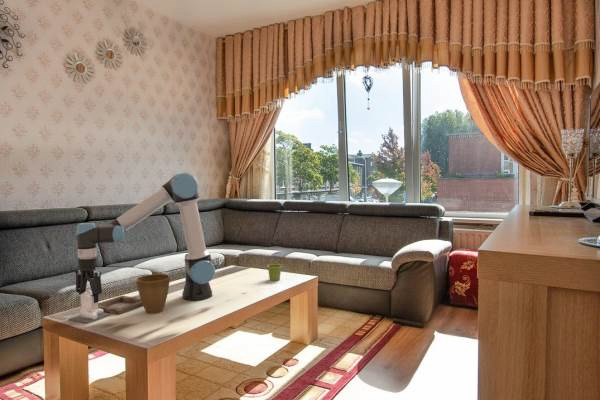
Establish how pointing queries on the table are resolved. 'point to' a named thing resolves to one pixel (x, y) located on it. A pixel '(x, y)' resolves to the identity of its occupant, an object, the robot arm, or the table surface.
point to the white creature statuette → (89, 307)
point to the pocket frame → (113, 310)
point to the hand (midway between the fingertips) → (89, 308)
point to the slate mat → (85, 320)
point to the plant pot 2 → (274, 271)
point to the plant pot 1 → (153, 291)
